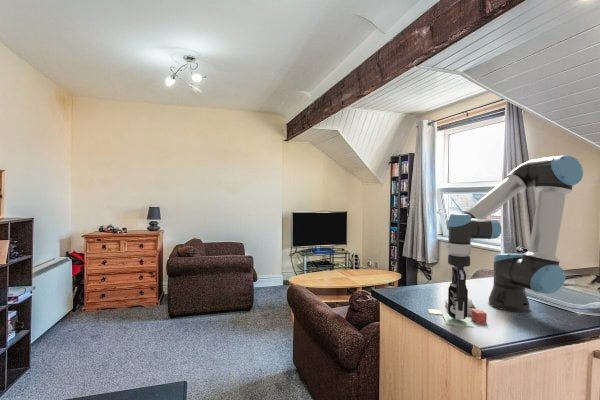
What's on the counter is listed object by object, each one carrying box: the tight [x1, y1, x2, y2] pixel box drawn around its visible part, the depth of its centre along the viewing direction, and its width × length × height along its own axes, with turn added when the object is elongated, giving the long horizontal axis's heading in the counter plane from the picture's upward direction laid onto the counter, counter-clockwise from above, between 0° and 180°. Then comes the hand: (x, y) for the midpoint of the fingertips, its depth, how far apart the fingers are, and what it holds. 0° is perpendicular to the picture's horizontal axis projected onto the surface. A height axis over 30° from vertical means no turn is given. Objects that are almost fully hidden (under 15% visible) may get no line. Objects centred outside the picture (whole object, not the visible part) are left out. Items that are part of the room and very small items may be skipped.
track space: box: [427, 308, 444, 316], centre depth 131 cm, size 5×5×1 cm
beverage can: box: [447, 282, 469, 319], centre depth 121 cm, size 7×7×12 cm
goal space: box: [442, 314, 474, 328], centre depth 121 cm, size 9×9×1 cm
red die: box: [471, 309, 488, 324], centre depth 122 cm, size 4×4×4 cm
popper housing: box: [444, 298, 480, 317], centre depth 134 cm, size 11×11×2 cm
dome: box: [467, 297, 473, 308], centre depth 134 cm, size 8×8×5 cm
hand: (457, 315), depth 121 cm, fingers closed on beverage can, 6 cm apart
